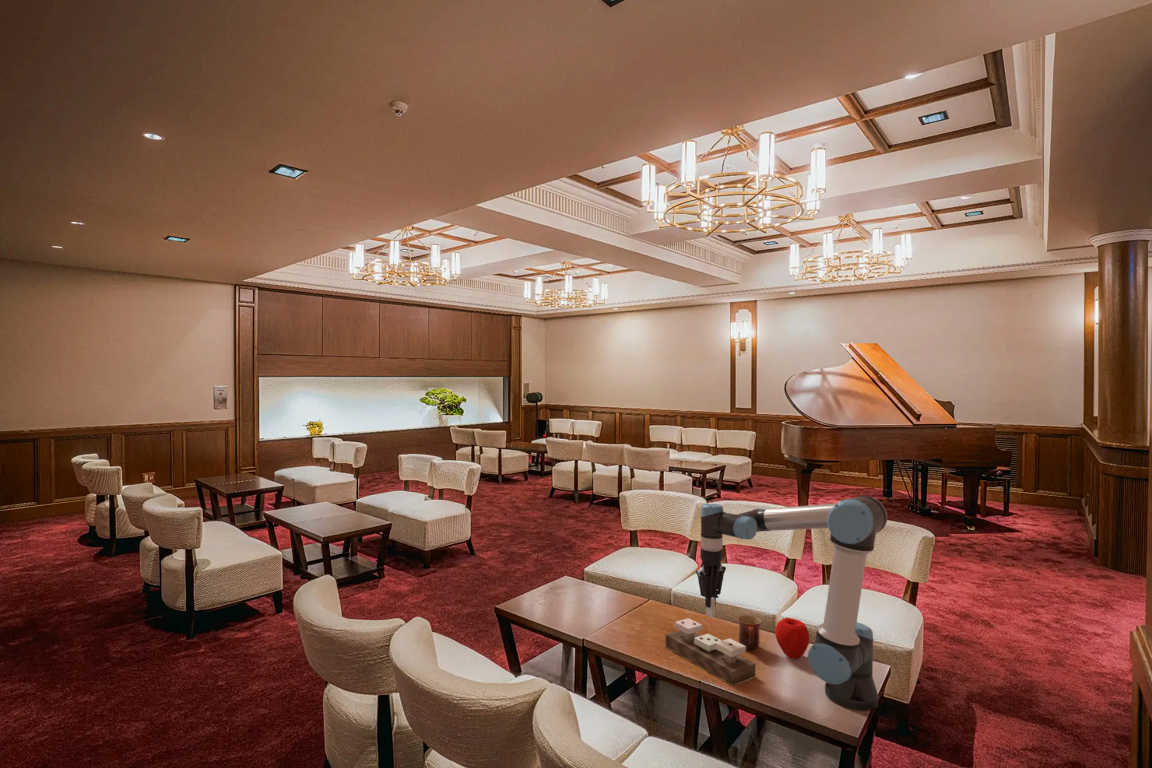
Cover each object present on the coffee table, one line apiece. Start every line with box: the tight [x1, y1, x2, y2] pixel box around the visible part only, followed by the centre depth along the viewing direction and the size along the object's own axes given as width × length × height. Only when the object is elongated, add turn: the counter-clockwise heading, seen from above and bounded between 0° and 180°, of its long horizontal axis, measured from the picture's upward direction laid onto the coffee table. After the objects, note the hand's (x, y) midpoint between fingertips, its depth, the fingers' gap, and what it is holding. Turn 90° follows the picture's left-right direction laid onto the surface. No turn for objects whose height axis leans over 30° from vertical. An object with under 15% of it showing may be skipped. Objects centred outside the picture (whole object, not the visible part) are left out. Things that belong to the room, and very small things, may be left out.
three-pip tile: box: [694, 633, 723, 652], centre depth 199 cm, size 7×7×7 cm
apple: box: [774, 617, 810, 660], centre depth 204 cm, size 12×12×13 cm
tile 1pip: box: [715, 638, 747, 664], centre depth 191 cm, size 7×7×7 cm
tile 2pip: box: [674, 617, 703, 641], centre depth 207 cm, size 7×7×7 cm
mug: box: [737, 614, 763, 652], centre depth 209 cm, size 12×9×10 cm
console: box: [664, 630, 757, 687], centre depth 199 cm, size 33×12×4 cm, turn 33°
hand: (710, 615), depth 199 cm, fingers closed
